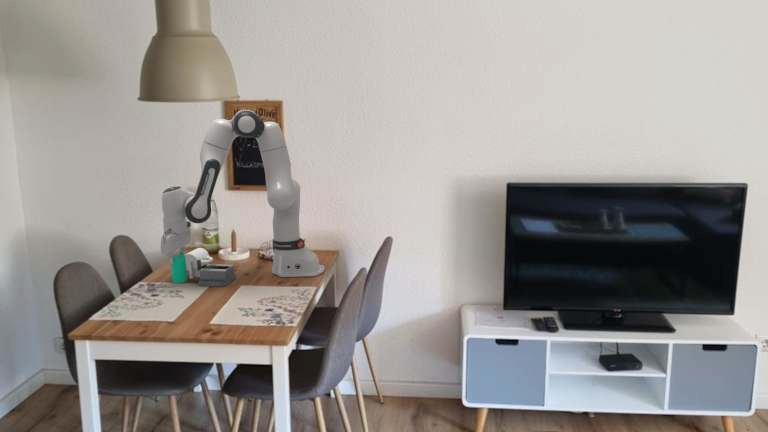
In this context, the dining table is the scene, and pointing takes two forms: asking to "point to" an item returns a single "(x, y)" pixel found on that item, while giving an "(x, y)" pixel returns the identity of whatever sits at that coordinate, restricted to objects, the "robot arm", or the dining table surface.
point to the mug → (198, 257)
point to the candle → (179, 269)
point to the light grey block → (194, 268)
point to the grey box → (217, 275)
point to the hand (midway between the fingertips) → (177, 259)
